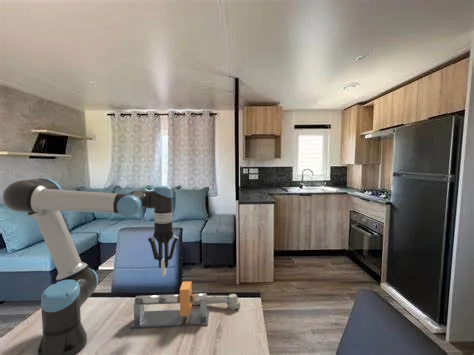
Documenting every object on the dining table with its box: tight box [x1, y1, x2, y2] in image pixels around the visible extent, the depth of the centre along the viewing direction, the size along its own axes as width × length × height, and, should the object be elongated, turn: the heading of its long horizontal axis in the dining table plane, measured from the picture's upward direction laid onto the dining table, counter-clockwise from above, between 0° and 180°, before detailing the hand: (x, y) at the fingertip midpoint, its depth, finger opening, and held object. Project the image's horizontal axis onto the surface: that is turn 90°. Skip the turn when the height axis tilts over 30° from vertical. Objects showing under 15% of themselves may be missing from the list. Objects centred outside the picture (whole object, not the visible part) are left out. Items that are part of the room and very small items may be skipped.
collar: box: [179, 281, 193, 316], centre depth 112 cm, size 4×8×11 cm, turn 3°
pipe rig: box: [129, 292, 210, 330], centre depth 111 cm, size 32×11×11 cm, turn 93°
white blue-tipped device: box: [192, 293, 241, 311], centre depth 122 cm, size 5×7×25 cm
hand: (163, 274), depth 112 cm, fingers closed
